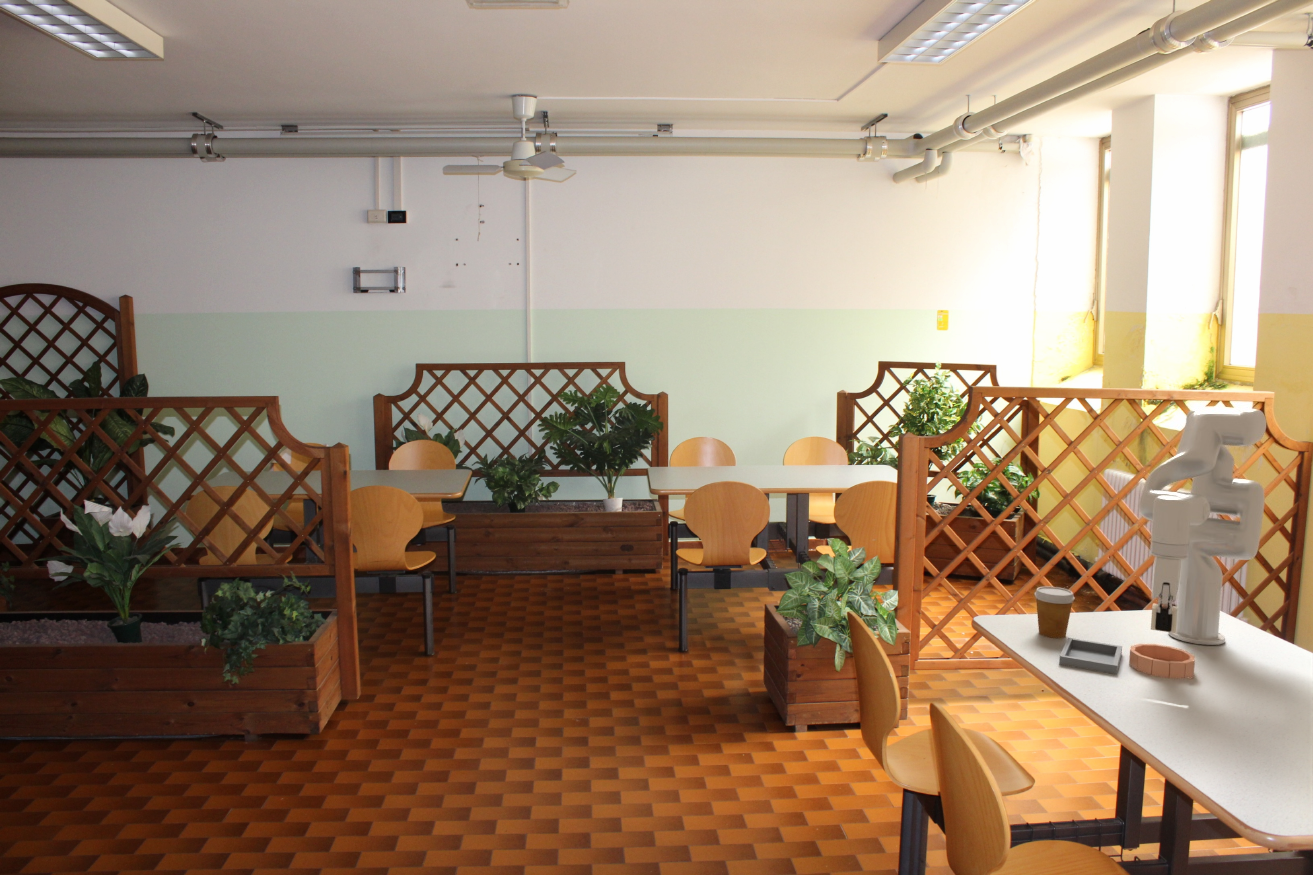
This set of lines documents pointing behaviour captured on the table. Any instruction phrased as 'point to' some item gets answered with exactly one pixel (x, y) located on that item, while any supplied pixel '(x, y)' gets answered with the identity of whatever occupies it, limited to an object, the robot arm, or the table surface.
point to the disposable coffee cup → (1053, 610)
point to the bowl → (1162, 661)
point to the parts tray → (1091, 655)
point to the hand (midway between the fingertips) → (1163, 626)
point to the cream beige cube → (1173, 612)
